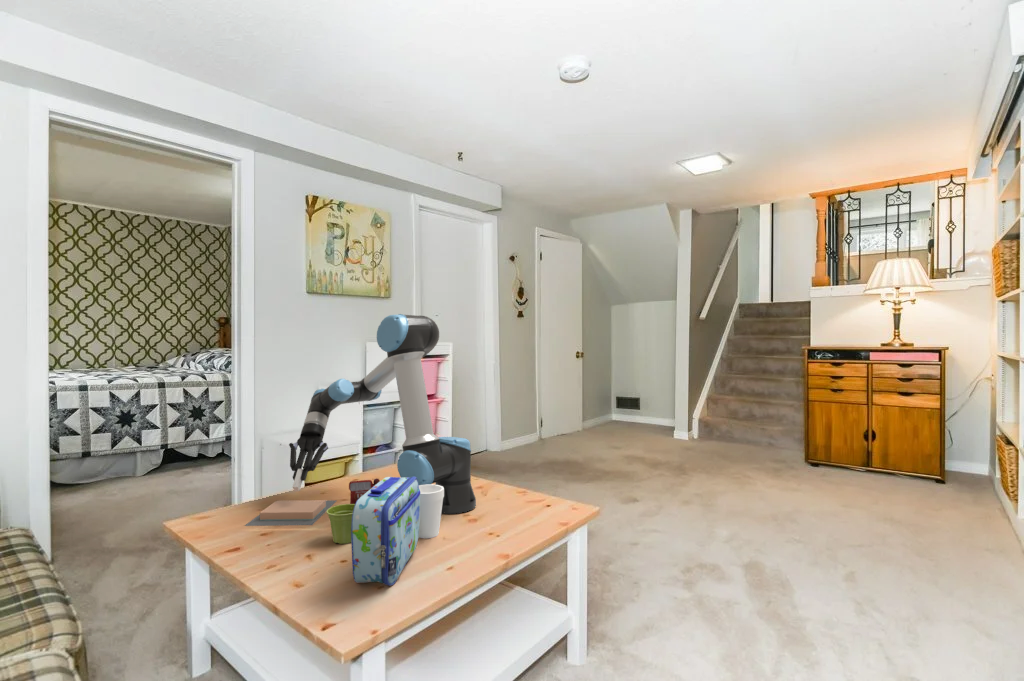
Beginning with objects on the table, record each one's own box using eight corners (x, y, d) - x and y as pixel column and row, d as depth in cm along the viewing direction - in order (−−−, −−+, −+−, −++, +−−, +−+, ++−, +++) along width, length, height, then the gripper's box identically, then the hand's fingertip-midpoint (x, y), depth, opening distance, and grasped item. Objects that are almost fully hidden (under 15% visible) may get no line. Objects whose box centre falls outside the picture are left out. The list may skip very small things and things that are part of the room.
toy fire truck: (389, 512, 169) (389, 480, 169) (349, 517, 165) (349, 484, 165) (387, 506, 176) (387, 475, 176) (348, 510, 172) (348, 478, 172)
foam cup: (450, 531, 153) (450, 486, 153) (432, 542, 144) (432, 495, 144) (423, 526, 157) (422, 482, 157) (404, 537, 148) (403, 491, 148)
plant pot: (329, 549, 140) (329, 516, 140) (324, 537, 148) (324, 506, 148) (365, 543, 144) (365, 511, 144) (358, 531, 152) (358, 502, 152)
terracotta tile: (276, 500, 172) (259, 512, 160) (325, 500, 173) (312, 512, 161) (276, 507, 172) (259, 520, 160) (325, 507, 173) (312, 520, 161)
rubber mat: (278, 502, 180) (278, 500, 180) (337, 502, 180) (337, 500, 180) (244, 527, 156) (244, 525, 156) (312, 527, 156) (312, 525, 156)
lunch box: (392, 594, 115) (392, 498, 115) (345, 592, 116) (345, 497, 116) (424, 547, 141) (424, 469, 141) (385, 546, 142) (385, 468, 142)
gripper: (335, 434, 187) (319, 494, 171) (298, 434, 187) (278, 495, 170) (330, 421, 182) (313, 482, 165) (292, 421, 182) (271, 483, 165)
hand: (295, 488), depth 168 cm, fingers closed
